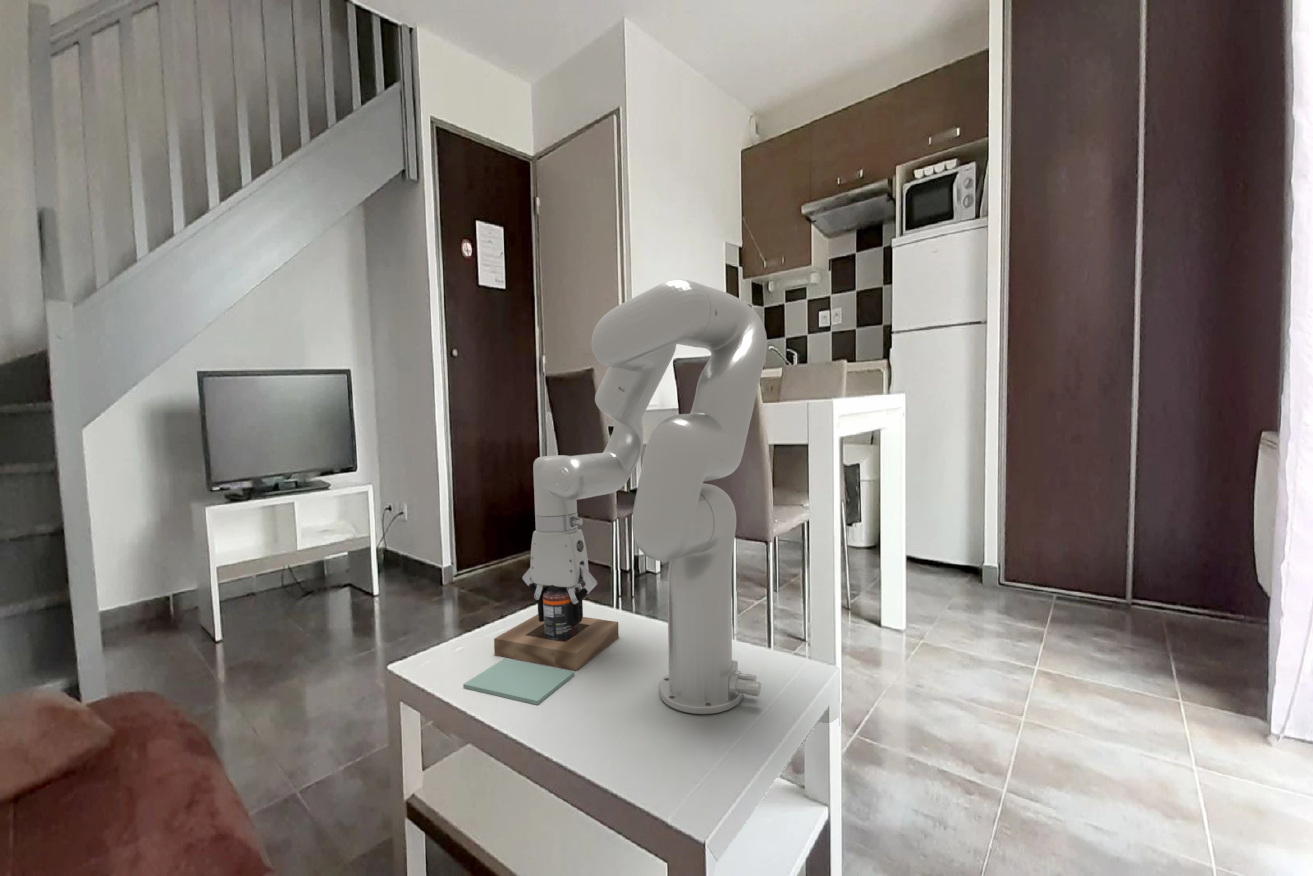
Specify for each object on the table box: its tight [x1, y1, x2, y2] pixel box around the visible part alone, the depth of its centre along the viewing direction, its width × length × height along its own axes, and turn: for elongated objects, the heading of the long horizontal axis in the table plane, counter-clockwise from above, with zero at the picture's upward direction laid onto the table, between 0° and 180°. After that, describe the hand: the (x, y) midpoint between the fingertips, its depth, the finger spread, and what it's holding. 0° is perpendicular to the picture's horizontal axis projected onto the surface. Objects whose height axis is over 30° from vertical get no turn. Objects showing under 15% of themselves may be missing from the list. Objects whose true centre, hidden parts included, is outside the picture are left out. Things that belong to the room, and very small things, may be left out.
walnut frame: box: [493, 613, 620, 672], centre depth 102 cm, size 17×15×3 cm
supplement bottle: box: [543, 585, 577, 642], centre depth 102 cm, size 6×6×11 cm
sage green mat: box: [462, 657, 575, 706], centre depth 89 cm, size 14×10×1 cm
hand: (560, 620), depth 102 cm, fingers closed on supplement bottle, 6 cm apart
